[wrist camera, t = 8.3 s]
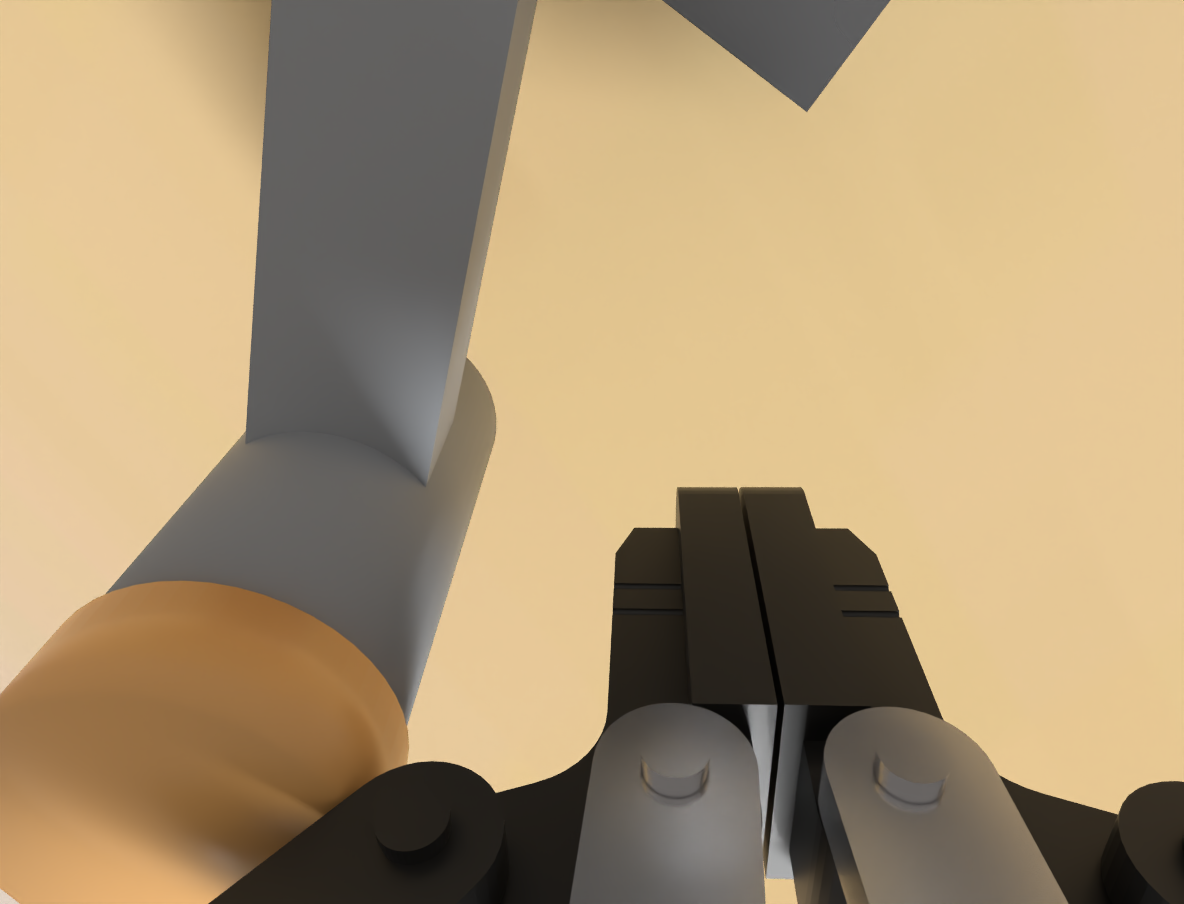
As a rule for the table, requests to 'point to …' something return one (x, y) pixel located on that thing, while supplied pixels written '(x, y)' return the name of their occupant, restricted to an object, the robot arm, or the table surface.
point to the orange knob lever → (292, 487)
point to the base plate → (786, 37)
